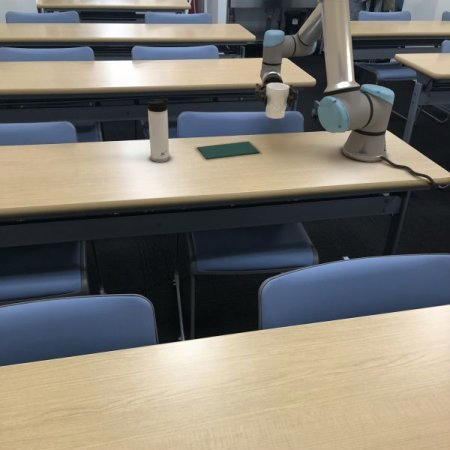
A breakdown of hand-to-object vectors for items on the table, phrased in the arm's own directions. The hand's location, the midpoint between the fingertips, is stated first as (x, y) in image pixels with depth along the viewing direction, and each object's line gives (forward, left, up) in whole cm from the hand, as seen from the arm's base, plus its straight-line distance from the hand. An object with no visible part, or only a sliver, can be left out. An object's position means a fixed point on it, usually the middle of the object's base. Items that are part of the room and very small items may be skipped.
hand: (278, 102), depth 164 cm
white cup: (+5, -2, -6) cm, 8 cm away
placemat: (+5, +15, -17) cm, 24 cm away
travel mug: (+5, +40, -17) cm, 44 cm away
